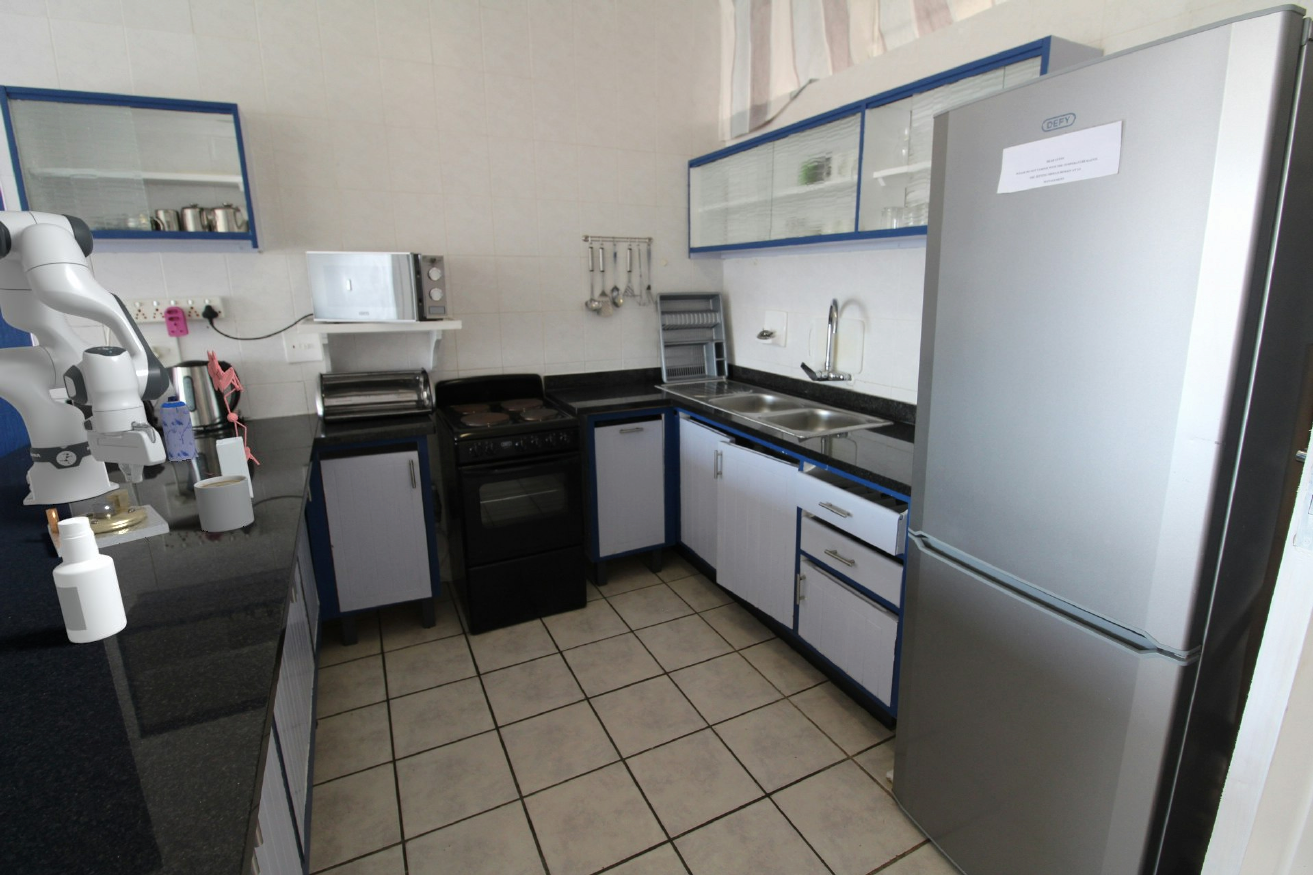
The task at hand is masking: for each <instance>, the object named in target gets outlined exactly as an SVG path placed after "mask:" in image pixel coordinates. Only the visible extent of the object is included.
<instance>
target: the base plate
mask: <svg viewBox="0 0 1313 875" xmlns="http://www.w3.org/2000/svg"><path fill="white" fill-rule="evenodd" d="M140 506H141V507H145V508H146V511H147V518H146V519H144V520H143V521H141V522H138V523H136V524H133V525H130V526H127V527H124V528H120V529H116V530H112V531H107V532H101V533H94V537H95V541H96V544H97V546H98V549H102V548H106V547H111V546H115V545H119V543H120V544H124V543H128V542H132V541H135V540H141V539H146V538H150V537H155V536H157V535H158V536H159V535H163V534H167V533H170V528H169V523H168V521H166V520H165V519H164V518H163V517H162V515H160V514H159V513H158V512H157V511H156V510H155V508H153V507H152V506H151V504H145V505H140ZM45 512H46V513H45V514H46V516H47V517H46V518H47V520H48V524H47V529H48V533H49V536H50V539H51V541H52V543H53V546H54V548H55V551H56V553H57V555H58V558H61V557H62V554H61V546H60V542H59V537H60V536H59V534H60V533H59V529H58V525H57V523H58V522H60V519H59V515H58V510H57V508H49V509H46V510H45ZM145 537H146V538H145Z"/></svg>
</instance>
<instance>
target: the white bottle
mask: <svg viewBox="0 0 1313 875" xmlns="http://www.w3.org/2000/svg"><path fill="white" fill-rule="evenodd" d="M74 517H75V516H74ZM57 525H58V529H59V533H60V534H59V536H60V537H59V542H60V546H61V554H62V562H61V563H60V564H59V565H56V567H55V568H54V569H53V571H52V576H53V581H54V584H55V588H56V592H57V597H58V601H59V604H60V608H61V613H62V616H63V621H64V624H65V628H66V629H65V630H66V633H67V637H68V639H69V641H70V642H71V643H75V644H77V643H78V644H84V643H91V642H95V641H100V640H103V639H106V638H110V637H111V636H113V635H116V634H118V633H119V632H121V631H122V630H123V629H125V627H126V625H127V623H128V622H127V617H126V612H125V608H124V604H123V598H122V595H121V589H120V587H119V586H120V584H119V581H118V576H117V571H116V568H115V563H114V559H113V558H112V557H111V556H110V555H106V554H103V553H102V554H101V553H100V552H99V551H100V550H99V548H98V546H97V544H96V541H95V537H94V532H93V531H92V529H91V528H90V524H89V519H88V518H87V517H75V518H73V517H70V518H66V519H63V520H61V521H60V520H59V522H58V523H57Z"/></svg>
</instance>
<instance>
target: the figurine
mask: <svg viewBox="0 0 1313 875" xmlns="http://www.w3.org/2000/svg"><path fill="white" fill-rule="evenodd" d="M206 355H207V358H208V359H207V360H208V363H207V372H208V375H209V376H210V378H211V380H212V384H213V386H214V389H215V391H218V389H219V391H220V392H221V393H222V394H223V393H224V390H226V388H228V386H229V385H230V384H232V385H233V386H234V387H235V388H233V389H232V390H230V391H229V392H227V393H226V394H225V395H224V396H223V400H224V402H225V405H226V408H227V411H228V414H227V416H226V417H227V420H228V421H229V422H231V423H234V428H235V434H236V437H239V434H238V429H237V428H238V427H237V424H238V425H239V426H241V427H243V428H244V449H245V454H246V459H247V462H248V461H249V459H250V460H251V459H252V460H253V461H254V462H255V464H257V466H259V465H260V463H259V461H258V460H257V459H256V458H255V456H254V455H252V454H251V449H250V448H249V447H250V446H247V426H245V425H243V424H242V423H240V422H239V421H238V419H239V417H238V416H239V415H237V413H235V412H231V410H230V406H229V402H228V401H227V397H228V396H229V395H231V394H232V393H233V392H234V391H237V392H238V391H240V392H242V393H243V392H244V389H243V387H242V384H241V382H240V381H239V379H238V377H237V375H236V373H235V369H234V367H233V366H230V367H229V368H228V369H227V370H225V372H224V370H222V367H221V366H220V365H219V362H218V361H219V360H218V358H217V355H216V353H215V351H214V350H212V351H211V352H210V351H209V350H207V351H206ZM202 468H203V469H204V468H205V467H202ZM201 472H202V473H204V474H207V475H212V473H211V472H210V473H209V472H204V471H202V470H201Z"/></svg>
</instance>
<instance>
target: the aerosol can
mask: <svg viewBox="0 0 1313 875" xmlns="http://www.w3.org/2000/svg"><path fill="white" fill-rule="evenodd" d="M159 415H160V420H161V426H162V431H163V437H164V441H165V445H166V446H165V447H166V451H167V457H168V459H169V460H170V461H169V462H171V461H178V462H183V461H182V460H186V459H192V460H194V459H193V458H195V457H198V458H199V454H198V450H197V446H196V445H197V444H196V439H195V433H194V428H193V424H192V419H191V412H190V407H189V405H188V404H187V403H186V402H185V401H182V400H180V399H178V397H177V396H176V395H171V396H167V401H165V402H164V403H162V404H161V406H159ZM195 459H196V458H195Z"/></svg>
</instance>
